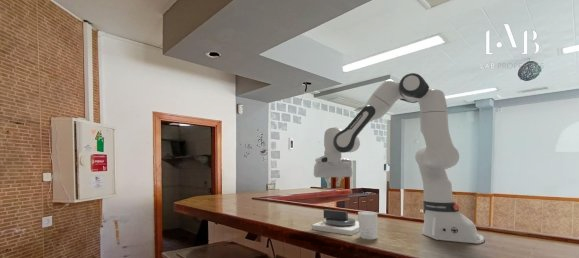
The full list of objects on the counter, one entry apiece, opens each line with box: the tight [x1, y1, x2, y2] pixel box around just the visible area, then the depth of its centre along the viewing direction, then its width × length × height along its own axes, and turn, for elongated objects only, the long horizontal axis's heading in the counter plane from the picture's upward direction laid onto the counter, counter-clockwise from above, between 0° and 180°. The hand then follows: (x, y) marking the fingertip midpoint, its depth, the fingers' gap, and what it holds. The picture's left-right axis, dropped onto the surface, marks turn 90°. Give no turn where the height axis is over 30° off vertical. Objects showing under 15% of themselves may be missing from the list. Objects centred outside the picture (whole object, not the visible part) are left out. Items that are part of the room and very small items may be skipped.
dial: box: [323, 208, 356, 226], centre depth 135 cm, size 16×14×6 cm
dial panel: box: [311, 219, 360, 236], centre depth 134 cm, size 20×20×2 cm
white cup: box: [357, 210, 378, 240], centre depth 118 cm, size 8×8×10 cm
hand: (333, 186), depth 144 cm, fingers open, 3 cm apart
